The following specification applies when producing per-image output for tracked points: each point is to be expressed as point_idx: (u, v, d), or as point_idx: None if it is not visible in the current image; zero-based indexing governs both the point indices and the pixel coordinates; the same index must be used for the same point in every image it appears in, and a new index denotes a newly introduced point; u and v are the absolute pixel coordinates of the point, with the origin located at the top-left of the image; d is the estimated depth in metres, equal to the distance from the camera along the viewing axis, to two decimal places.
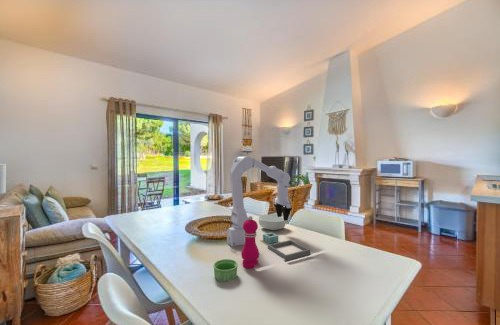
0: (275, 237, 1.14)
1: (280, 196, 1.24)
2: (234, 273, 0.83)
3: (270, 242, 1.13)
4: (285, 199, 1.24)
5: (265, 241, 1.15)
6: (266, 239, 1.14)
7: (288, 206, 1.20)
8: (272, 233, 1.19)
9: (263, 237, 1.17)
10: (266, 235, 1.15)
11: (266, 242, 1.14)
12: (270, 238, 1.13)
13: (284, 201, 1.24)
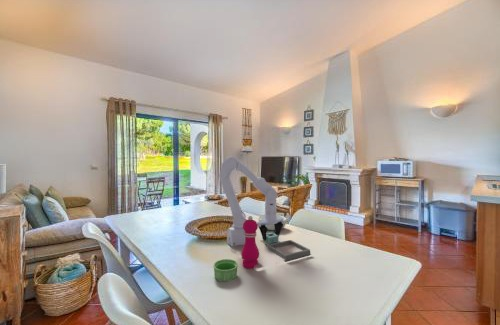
0: (275, 237, 1.14)
1: None
2: (234, 273, 0.83)
3: (270, 242, 1.13)
4: (266, 217, 1.14)
5: (265, 241, 1.15)
6: (266, 239, 1.14)
7: (257, 224, 1.13)
8: (272, 233, 1.19)
9: None
10: (266, 235, 1.15)
11: (266, 242, 1.14)
12: (270, 238, 1.13)
13: (265, 219, 1.15)
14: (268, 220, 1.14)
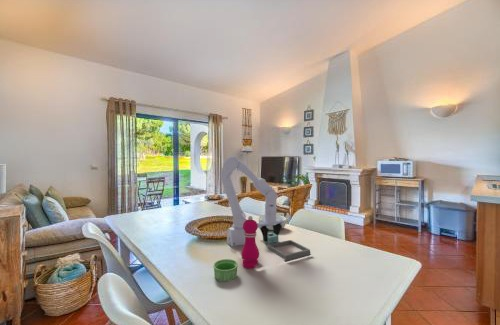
0: (275, 237, 1.14)
1: None
2: (234, 273, 0.83)
3: (270, 242, 1.13)
4: (266, 218, 1.14)
5: (265, 241, 1.15)
6: None
7: None
8: (272, 233, 1.19)
9: None
10: None
11: (266, 242, 1.14)
12: (270, 238, 1.13)
13: (265, 220, 1.15)
14: (268, 221, 1.14)
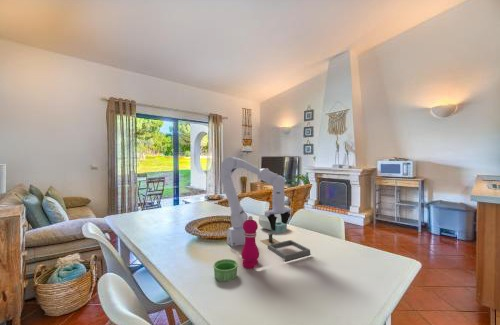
0: (283, 226, 1.09)
1: None
2: (234, 273, 0.83)
3: (278, 231, 1.08)
4: (274, 206, 1.09)
5: (273, 230, 1.10)
6: None
7: (265, 213, 1.08)
8: (280, 222, 1.14)
9: (270, 226, 1.12)
10: None
11: (274, 231, 1.09)
12: (278, 227, 1.08)
13: (273, 208, 1.10)
14: (276, 209, 1.08)
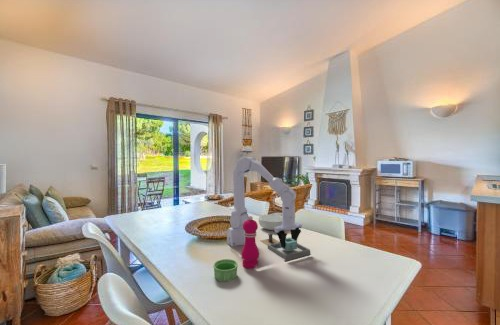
0: (294, 243, 1.03)
1: None
2: (234, 273, 0.83)
3: (288, 248, 1.02)
4: (283, 222, 1.03)
5: (282, 247, 1.04)
6: None
7: (274, 230, 1.02)
8: (289, 238, 1.08)
9: None
10: None
11: (284, 248, 1.04)
12: (288, 244, 1.02)
13: (283, 224, 1.04)
14: (286, 225, 1.03)
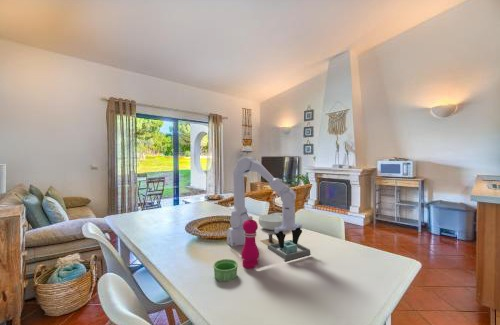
0: (293, 246, 1.03)
1: None
2: (234, 273, 0.83)
3: (288, 252, 1.02)
4: (283, 223, 1.03)
5: (282, 251, 1.04)
6: (283, 249, 1.04)
7: (274, 230, 1.02)
8: (289, 242, 1.08)
9: None
10: None
11: None
12: (288, 248, 1.02)
13: (283, 225, 1.04)
14: (286, 226, 1.03)
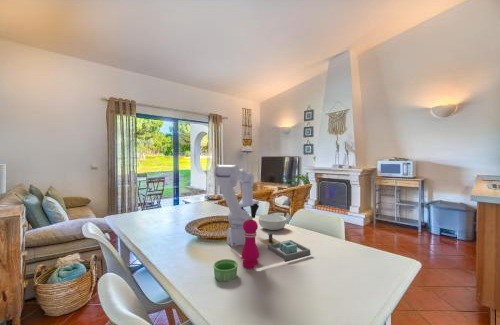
0: (293, 246, 1.03)
1: None
2: (234, 273, 0.83)
3: (288, 252, 1.02)
4: (243, 200, 1.24)
5: (282, 251, 1.04)
6: (283, 249, 1.04)
7: None
8: (289, 242, 1.08)
9: (280, 246, 1.06)
10: (283, 244, 1.04)
11: None
12: (288, 248, 1.02)
13: (243, 202, 1.24)
14: (245, 203, 1.23)
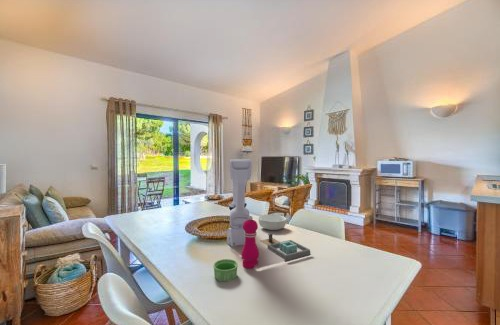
0: (293, 246, 1.03)
1: (233, 195, 1.30)
2: (234, 273, 0.83)
3: (288, 252, 1.02)
4: (236, 199, 1.28)
5: (282, 251, 1.04)
6: (283, 249, 1.04)
7: (231, 205, 1.24)
8: (289, 242, 1.08)
9: (280, 246, 1.06)
10: (283, 244, 1.04)
11: None
12: (288, 248, 1.02)
13: (235, 200, 1.28)
14: None
